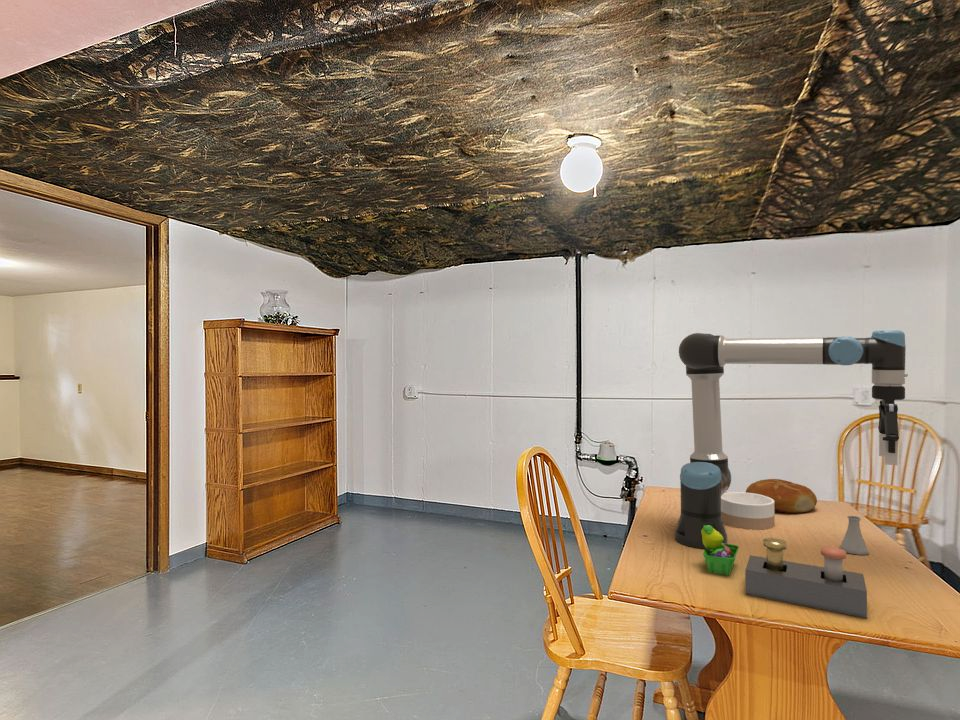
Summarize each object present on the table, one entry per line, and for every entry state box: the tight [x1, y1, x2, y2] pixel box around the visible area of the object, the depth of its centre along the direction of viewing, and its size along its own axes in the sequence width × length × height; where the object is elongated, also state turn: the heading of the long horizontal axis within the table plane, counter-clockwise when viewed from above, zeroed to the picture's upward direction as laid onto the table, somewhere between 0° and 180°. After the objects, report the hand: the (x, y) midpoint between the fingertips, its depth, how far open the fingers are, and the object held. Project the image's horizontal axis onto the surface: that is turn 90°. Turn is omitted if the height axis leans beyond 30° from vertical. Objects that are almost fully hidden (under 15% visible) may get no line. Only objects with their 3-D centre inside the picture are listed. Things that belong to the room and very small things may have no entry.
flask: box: [839, 515, 870, 556], centre depth 160 cm, size 7×7×10 cm
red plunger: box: [820, 545, 847, 582], centre depth 127 cm, size 5×5×8 cm
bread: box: [745, 478, 818, 514], centre depth 206 cm, size 23×23×10 cm
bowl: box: [721, 491, 776, 531], centre depth 188 cm, size 17×17×8 cm
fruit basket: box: [701, 525, 740, 576], centre depth 149 cm, size 11×9×11 cm
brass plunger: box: [762, 537, 788, 572], centre depth 134 cm, size 5×5×8 cm
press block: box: [744, 554, 868, 619], centre depth 130 cm, size 24×11×6 cm, turn 58°
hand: (887, 460), depth 154 cm, fingers open, 13 cm apart
